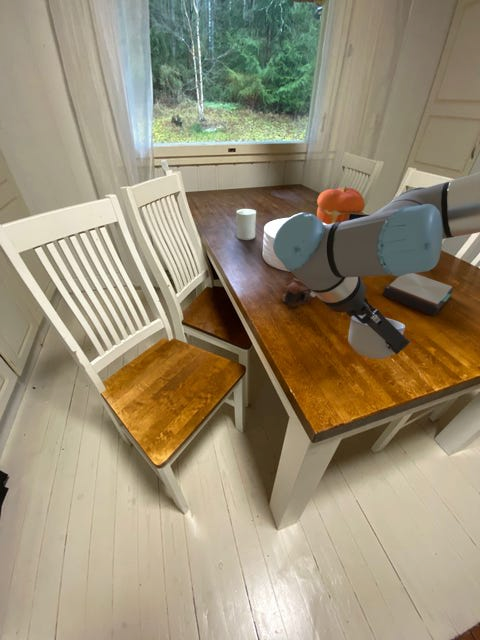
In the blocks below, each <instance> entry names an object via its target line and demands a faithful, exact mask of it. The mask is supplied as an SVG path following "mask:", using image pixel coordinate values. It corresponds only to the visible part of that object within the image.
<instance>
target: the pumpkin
mask: <svg viewBox="0 0 480 640" xmlns="http://www.w3.org/2000/svg"><path fill="white" fill-rule="evenodd" d="M316 203H317V206H318V207H317V210H316V217H317V218H318V219H319V220H322V222H323V223H325V224H327V225H328V224H332V223H337V222H344V221H348V218H349V215H350V213H354V214H363V211H364V210H365V206H366V205H365V198H364V197H363V195H362V194H361V193H360V192H359V191H358V190H357V189H355V188H351V187H346V186H344V187H340V188H337V189H335V188H328V189H326V190H324V191H322V192H321V193H320V194H319V195H318V197H317V201H316Z"/></svg>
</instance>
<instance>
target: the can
mask: <svg viewBox="0 0 480 640" xmlns="http://www.w3.org/2000/svg"><path fill="white" fill-rule="evenodd" d="M256 221H257V210H255V209H252V208H240V209H237V210H236V236H235V237H236V238H237V239H239V240H243V241H244V240H245V241H250V240H253V239H255V238H256V225H257V223H256Z"/></svg>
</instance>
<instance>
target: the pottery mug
mask: <svg viewBox="0 0 480 640" xmlns="http://www.w3.org/2000/svg"><path fill="white" fill-rule="evenodd" d="M286 286H287V287H286V288H287V290H286V293H284V294H283V295H282V302H283V303H285V304H286V305H288V306H290V307H293V308H297V306H298V305H299V306H301V307H303V306H305V305H307V304H309V303H310V301H311V299H312V298H313V297H312V296H311V295H310V293H311V292H312V291H311V290H310V289H309V288H308V287H306V286H305V285H304V284H303V283H302V282H301V281H300V280H299V279H298V278H297V277H292V278H291V281H289V282H288V283H287V284H286Z"/></svg>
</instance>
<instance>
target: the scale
mask: <svg viewBox="0 0 480 640" xmlns="http://www.w3.org/2000/svg"><path fill="white" fill-rule="evenodd" d="M454 290H455V289H454V288H453V286H452V285H450V284H446V283H443V282H441V281H437V280H436V279H435V280H434V279H432V278H429V277H426V276H423V275H421V274H419V273H411V274H406V275H402V276H399V275H398V276H397V277H396V278H395V279H394V280H393V281H391V282H390V283H389V284H388V285H386V286H385V287H384V289H383V292H382V296H384V297H385V298H388V299H391V300H393V301H396V302H398V303H400V304H402V305H405V306H407V307H410V308H413V309H415V310H417V311H420V312H422V313H425V314H427V315H429V316H432V317H435V315H436V314H437V313H438V312H439V311H440V309H441V308H442V307H443V306H444V305H445V303H446V302H447V301H448V300H449V298H450V297H451V296H452V293H453V292H454Z"/></svg>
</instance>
